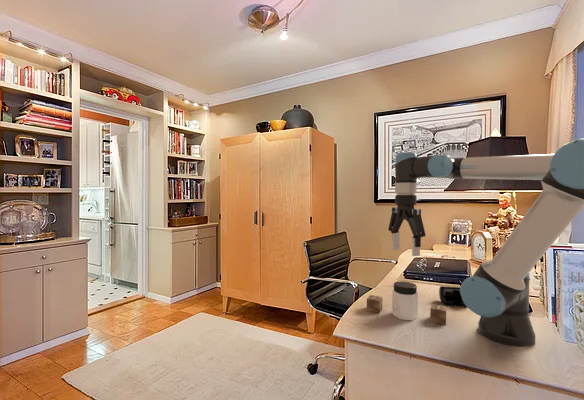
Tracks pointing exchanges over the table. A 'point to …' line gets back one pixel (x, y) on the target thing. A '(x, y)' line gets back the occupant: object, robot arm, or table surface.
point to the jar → (405, 300)
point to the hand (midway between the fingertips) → (405, 252)
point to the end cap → (451, 296)
